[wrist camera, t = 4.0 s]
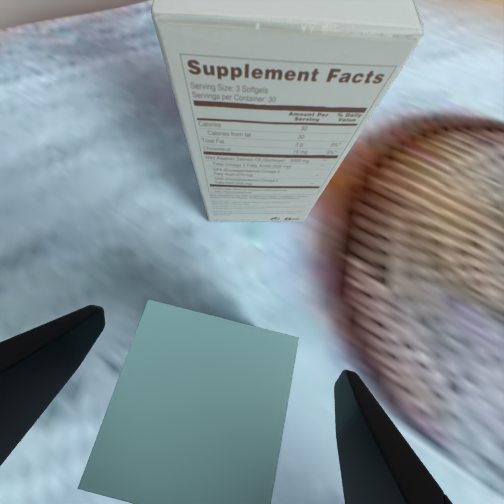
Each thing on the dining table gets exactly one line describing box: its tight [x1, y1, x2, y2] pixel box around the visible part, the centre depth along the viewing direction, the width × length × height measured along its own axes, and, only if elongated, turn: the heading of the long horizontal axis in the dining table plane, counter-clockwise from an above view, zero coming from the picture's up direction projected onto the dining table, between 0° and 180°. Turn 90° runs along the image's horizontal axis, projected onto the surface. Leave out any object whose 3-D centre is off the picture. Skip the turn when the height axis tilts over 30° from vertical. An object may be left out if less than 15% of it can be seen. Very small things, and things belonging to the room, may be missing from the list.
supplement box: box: [151, 0, 424, 222], centre depth 13 cm, size 7×7×13 cm
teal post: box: [78, 299, 299, 504], centre depth 10 cm, size 4×4×10 cm
